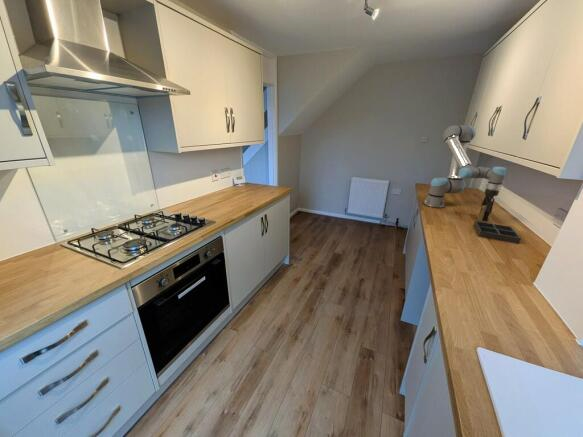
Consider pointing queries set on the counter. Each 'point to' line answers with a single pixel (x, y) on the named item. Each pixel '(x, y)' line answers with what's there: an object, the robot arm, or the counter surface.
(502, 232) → the grid
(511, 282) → the counter surface
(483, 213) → the cork
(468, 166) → the robot arm
